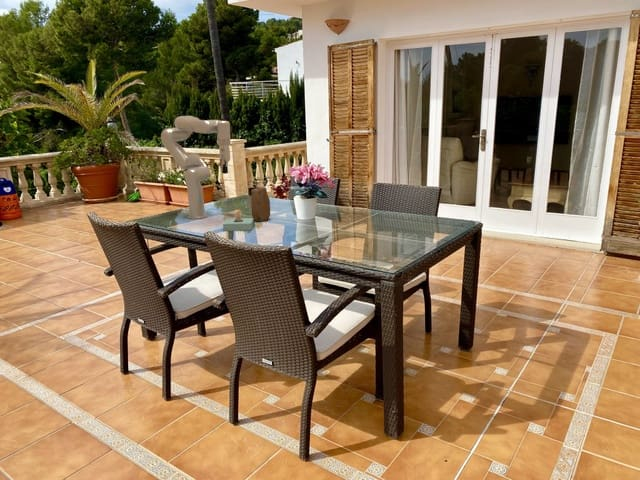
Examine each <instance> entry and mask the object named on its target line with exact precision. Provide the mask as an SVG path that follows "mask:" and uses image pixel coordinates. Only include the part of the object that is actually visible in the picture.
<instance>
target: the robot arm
mask: <svg viewBox="0 0 640 480" xmlns="http://www.w3.org/2000/svg"><path fill="white" fill-rule="evenodd" d="M173 123H174V126H175V127H169V128H165V129H163V130H162V131H161V133H160V138H161V139H160V140H161V144H162V145H163V147H164V149H166V150H167V152H168V153H169V154H170V155H171V157H172V158H173V160H174V161H175V163H176V164H177V165H178V166H179V168H180V169H182V170H185V171H184V180H185V184H186V189H187V191H186V192H187V200H188V210H182V214H183V215H187V216H186V217H187V219H190V220H197V219H198V220H199V219H205V218H207V217H208V214H207V213H206V212H205V210H206V209H205V201H204V200H205V198H204V189H203V186H202V185H201V182H206V181H208V180H210V178H211V175H212V173H211V170H210V168H209V166H208V165H207V163H205V161H204V159H203V158H202V157H201V155H199V154H198V153H196V152H190V153H188V152H186V150H185V149H184V147H182V145H180V144H179V143H177V142H182V141H185V140H187V139H188V138H189V137H190V136H191V135H192V134H193V132H194V133H196V134H198V133H199V134H216V135H217V137H216V138H217V139H216V141H217V146H219V149H218V151H219V152H218V153H219V162H221V173H222V174H223V175H224V174H227V175H228V174H229V169H228V168H229V167H228V165H229V162H230V161H231V150H230V145H231V123H230V121H228V120H219V119H207V120H205V119H200V118H199V117H195V116H193V115H181V116H177V117H176V118H175V119H174V122H173Z"/></svg>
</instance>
